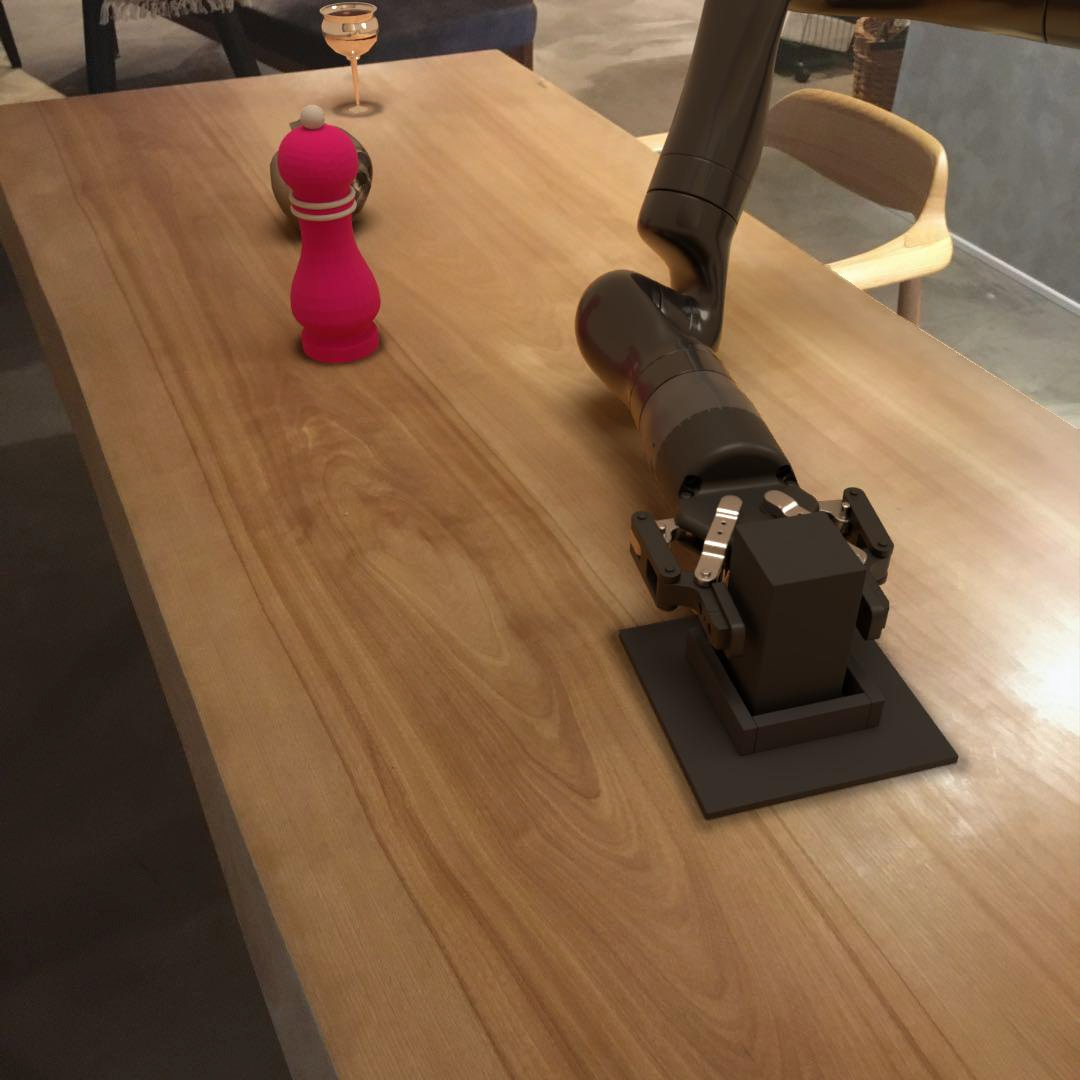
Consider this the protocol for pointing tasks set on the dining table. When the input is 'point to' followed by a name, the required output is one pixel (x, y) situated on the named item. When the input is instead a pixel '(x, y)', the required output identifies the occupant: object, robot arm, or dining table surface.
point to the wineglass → (350, 34)
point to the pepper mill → (328, 243)
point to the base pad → (779, 724)
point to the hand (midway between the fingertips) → (807, 636)
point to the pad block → (793, 611)
